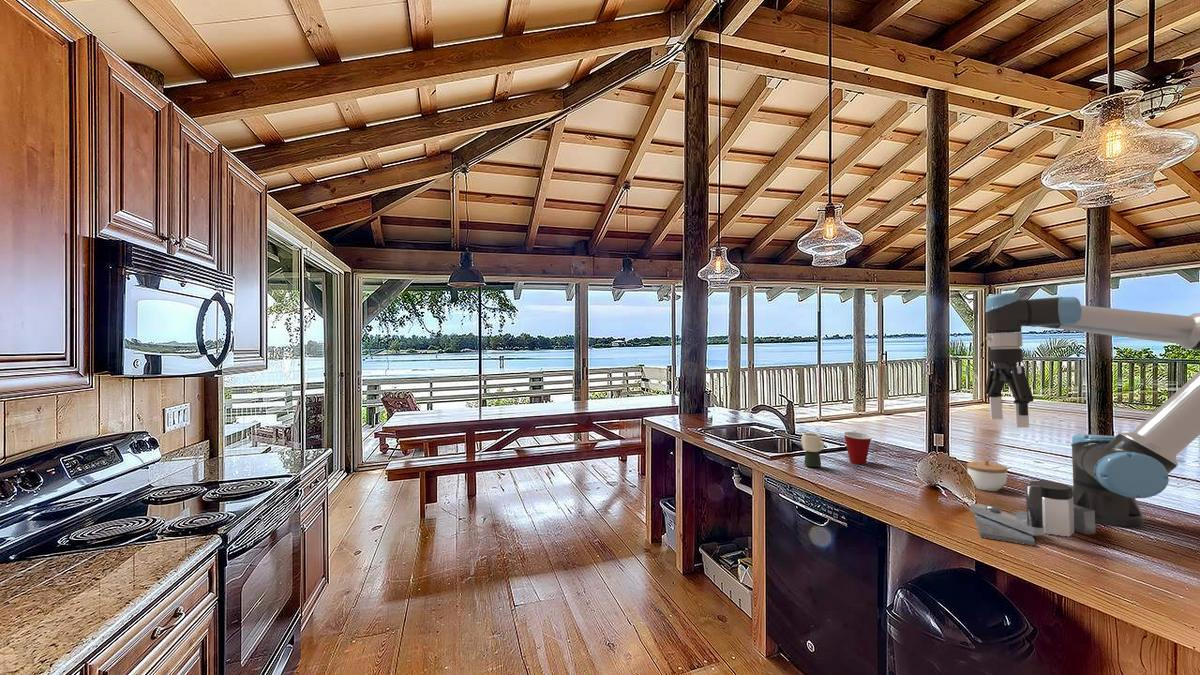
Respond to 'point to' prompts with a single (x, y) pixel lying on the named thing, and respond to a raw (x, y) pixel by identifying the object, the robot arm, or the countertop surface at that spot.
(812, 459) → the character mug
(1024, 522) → the lever
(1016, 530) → the press base
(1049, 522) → the jar
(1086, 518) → the backstop
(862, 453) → the plastic cup
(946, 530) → the countertop surface
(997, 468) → the lidded jar
